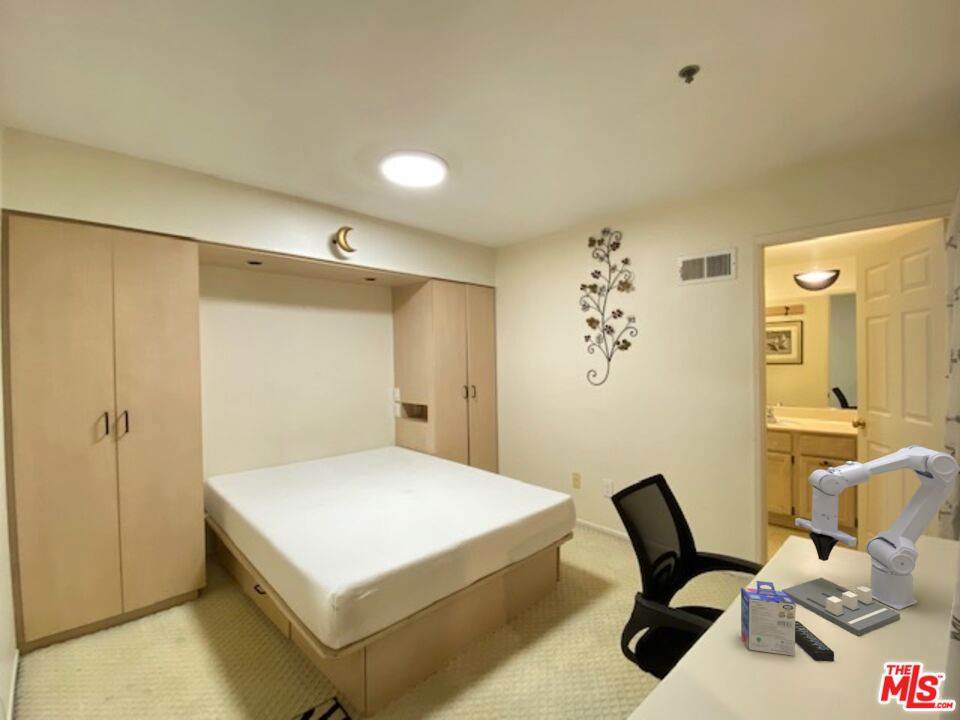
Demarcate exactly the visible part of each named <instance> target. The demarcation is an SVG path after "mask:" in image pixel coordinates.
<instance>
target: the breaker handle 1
mask: <svg viewBox="0 0 960 720" xmlns="http://www.w3.org/2000/svg"><path fill="white" fill-rule="evenodd" d="M824 610H826V611H828V612H830V613H832V614H834V615H836V616H839V615H842V614H844V612H842V600H841V599H839V598H837V597H835V596H832V597H829V598H826V608H824Z"/></svg>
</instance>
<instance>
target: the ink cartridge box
mask: <svg viewBox="0 0 960 720" xmlns="http://www.w3.org/2000/svg"><path fill="white" fill-rule="evenodd" d="M762 586H768V587H770V589H769V588H761V587H762ZM756 587H757V588H749V587H748V588H747V587H741V588H740V596H741V597H740V610H741V612H740V614H741V615H740V619H741V620H740V637H741V639H742V641H743V643H744V645H745V646H746V648H747V649H748V650H750V651H756V652H763V653H764V652H765V653H772V654H779V655H785V656H786V655H787V656H792V657H793V656H795V655H796V653H795V652H796V642H795V621H796V605H797V603H795V602H794V601H793V600H792V599H791V598H790V597H789V596H788V595H787V594H786V593H785V592H783V591H782V590H776V588H775V586H774V583H773V582H769V581H763V580H756Z"/></svg>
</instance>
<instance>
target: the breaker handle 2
mask: <svg viewBox="0 0 960 720" xmlns="http://www.w3.org/2000/svg"><path fill="white" fill-rule="evenodd" d="M855 593H856V595H858V601H860V602H862V603H864V604H866V605H868V604H871V603H874V602H875V601H874V602H873V600H872V599H873V598H872V590H871V588H869V587H867V586H864V585H861V586H858V587H856V590H855Z"/></svg>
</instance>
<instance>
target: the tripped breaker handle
mask: <svg viewBox="0 0 960 720" xmlns="http://www.w3.org/2000/svg"><path fill="white" fill-rule="evenodd" d="M850 591H851V590H850ZM850 591H848V592H845V593H842V605H843V606H845V607H847V608H849V609H851V610H856V609H859V608H860V607H858V595H856V594H854V593H852V592H853V591H852V592H850Z"/></svg>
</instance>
